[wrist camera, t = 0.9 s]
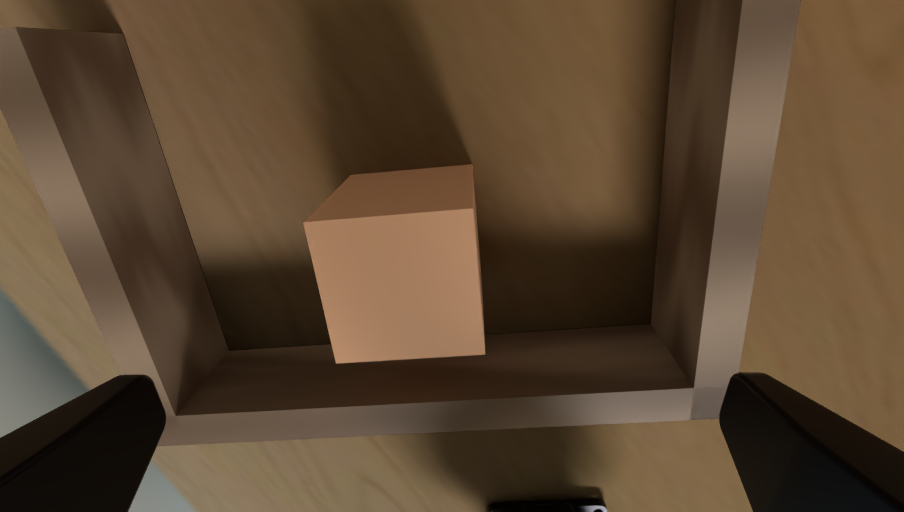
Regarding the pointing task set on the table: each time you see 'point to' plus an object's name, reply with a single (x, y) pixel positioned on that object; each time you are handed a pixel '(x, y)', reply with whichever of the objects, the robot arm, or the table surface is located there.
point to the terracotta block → (400, 265)
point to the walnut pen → (426, 379)
